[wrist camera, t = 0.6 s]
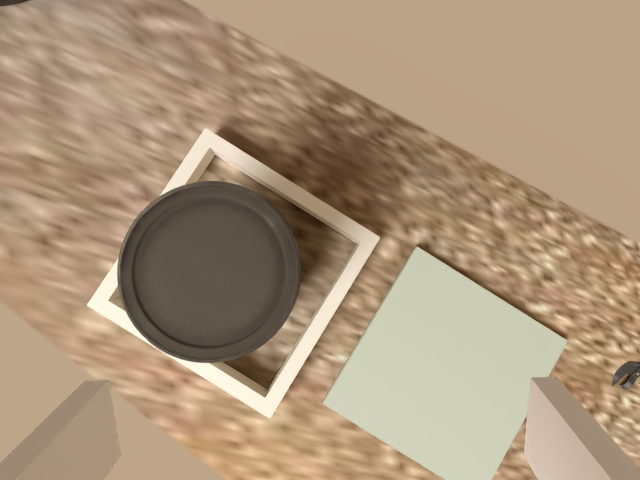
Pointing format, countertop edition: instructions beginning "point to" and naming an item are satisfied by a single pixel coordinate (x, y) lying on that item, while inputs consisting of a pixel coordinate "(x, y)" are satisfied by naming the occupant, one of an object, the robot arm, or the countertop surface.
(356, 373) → the mat
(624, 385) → the can opener
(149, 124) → the countertop surface
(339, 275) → the holder frame
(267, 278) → the coffee can
